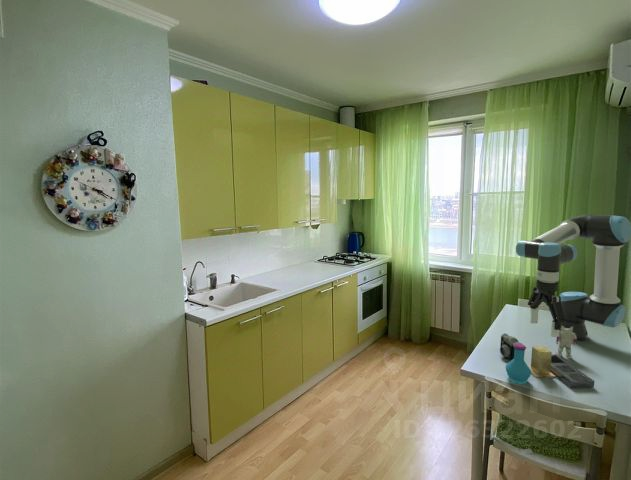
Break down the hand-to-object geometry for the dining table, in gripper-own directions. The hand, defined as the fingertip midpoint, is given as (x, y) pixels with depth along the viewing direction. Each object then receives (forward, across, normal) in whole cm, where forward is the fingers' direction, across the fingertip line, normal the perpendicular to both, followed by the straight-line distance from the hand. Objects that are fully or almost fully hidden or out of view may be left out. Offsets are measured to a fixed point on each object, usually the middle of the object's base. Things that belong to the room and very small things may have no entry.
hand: (543, 329), depth 146 cm
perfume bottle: (+19, +6, -13) cm, 24 cm away
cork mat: (+19, 0, -1) cm, 19 cm away
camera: (+20, -14, -6) cm, 25 cm away
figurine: (+20, -14, +19) cm, 31 cm away
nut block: (+19, 0, -1) cm, 19 cm away
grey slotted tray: (+19, +1, +8) cm, 21 cm away
